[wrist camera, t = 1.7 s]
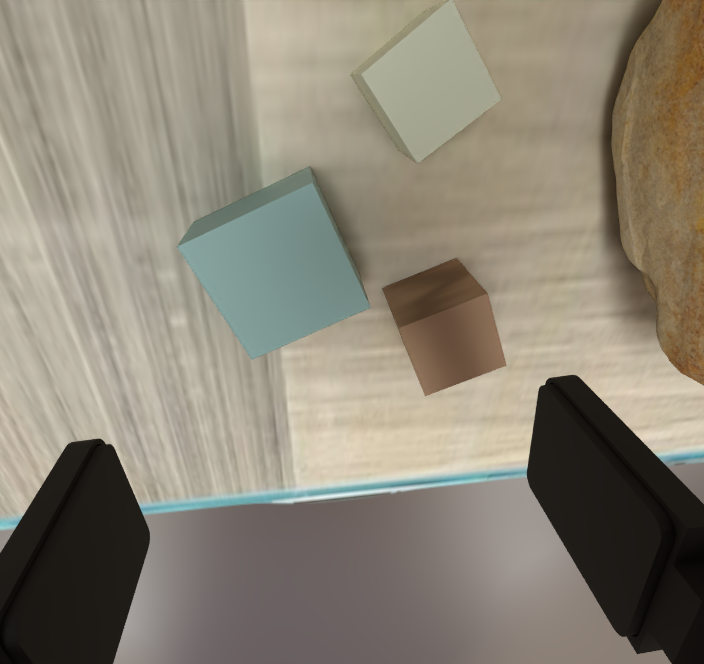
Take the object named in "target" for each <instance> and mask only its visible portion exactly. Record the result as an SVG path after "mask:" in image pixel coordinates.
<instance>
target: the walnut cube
mask: <svg viewBox="0 0 704 664" xmlns="http://www.w3.org/2000/svg"><path fill="white" fill-rule="evenodd" d="M382 289H383V291H384V294H385V296H386V299H387V301H388V304H389V307H390V309H391V312H392V314H393V317H394V319H395V322H396V324H397V327H398V329H399V332H400V335H401V337H402V340H403V342H404V345H405V347H406V350H407V352H408V355H409V357H410V360H411V362H412V364H413V367H414V369H415V372H416V374H417V377H418V379H419V382H420V384H421V387H422V389H423V391H424V394H425V396H427V395H430V394H432V393H435V392H438V391H440V390H443V389H445V388H448V387H451V386H453V385H456V384H459V383H461V382H464V381H467V380H469V379H472V378H475V377H477V376H480V375H482V374H485V373H488V372H490V371H493V370H496V369H498V368H501V367H504V366H506V362H505V358H504V354H503V350H502V347H501V343H500V339H499V335H498V331H497V328H496V324H495V320H494V316H493V313H492V309H491V305H490V301H489V297H488V294H487V292H486V291H485V290H484V289H483V288H482V287H481V285H480V284H479V283H478V282H477V281H476V280H475V279H474V278H473V276H472V275H471V274H470V273H469V272H468V271H467V270H466V268H465V267H464V266H463V265H462V264H461V263H460V262H459V261H458V259H457V258H455V259H453V260H450V261H448V262H445V263H443V264H440V265H438V266H436V267H433V268H431V269H428V270H426V271H423V272H421V273H418V274H416V275H413V276H411V277H408V278H406V279H403V280H401V281H398V282H396V283H393V284H391V285H389V286H386V287H384V288H382Z"/></svg>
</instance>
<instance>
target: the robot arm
mask: <svg viewBox="0 0 704 664" xmlns="http://www.w3.org/2000/svg"><path fill="white" fill-rule="evenodd" d="M527 479H528V483H529V486H530V488H531V490H532V492H533V493H534V495H535V497H536V498H537V500H538V502H539V503H540V505H541V507H542V508H543V510H544V512H545V513H546V515H547V517H548V519H549V520H550V522H551V524H552V525H553V527H554V529H555V530H556V532H557V534H558V535H559V537H560V539H561V541H562V542H563V544H564V546H565V547H566V549H567V551H568V552H569V554H570V556H571V557H572V559H573V561H574V562H575V564H576V566H577V568H578V569H579V571H580V573H581V574H582V576H583V578H584V579H585V581H586V583H587V584H588V586H589V588H590V589H591V591H592V593H593V594H594V596H595V598H596V600H597V601H598V603H599V605H600V606H601V608H602V610H603V611H604V613H605V615H606V616H607V618H608V620H609V622H610V623H611V625H612V627H613V628H614V630H615V631H616V632H617V633H618V634H619V635H620V636H622V637H625V636H627V638H628V640H629V641H630V643H631V645H632V646H633V648H634V650H635V651H636V653H637V654H640V653H646V652H652V651H657V650H663V651H664V653H665V654H666V656H667V657H668V659H669V660H670V662H671V663H672V664H704V504H703V503H702V502H701V501H700V500H699V499H698V498H697V497H696V496H695V495H694V494H693V493H692V492H691V491H690V490H689V489H688V488H687V487H686V486H685V485H684V484H683V483H682V482H681V481H680V480H679V479H678V478H677V477H676V476H675V474H673V473H672V471H671V470H670V469H669V468H668V467H667V466H666V465H665V464H664V463H663V462H662V461H661V460H660V459H659V458H658V457H657V456H656V455H655V454H654V453H653V452H652V451H651V450H650V449H649V448H648V447H647V446H646V445H645V444H644V443H643V442H642V441H641V440H640V439H639V438H638V437H637V436H636V435H635V434H634V433H633V432H632V431H631V430H630V429H629V428H628V427H627V426H626V424H625V423H624V422H623V421H622V420H621V419H620V418H619V417H618V416H617V415H616V414H615V413H614V412H613V411H612V410H611V409H610V408H609V407H608V406H607V405H606V404H605V403H604V402H603V401H602V400H601V399H600V398H599V397H598V396H597V395H596V394H595V393H594V392H593V391H592V390H591V389H590V388H589V387H588V386H587V385H586V384H585V383H584V382H583V381H582V380H581V379H580V378H579V377H578V376H577V375H568V376H560V377H553V378H549V379H548V380H547V381H546V384H545V385H543V386H541V387H540V388H539V392H538V399H537V406H536V413H535V420H534V427H533V434H532V441H531V447H530V454H529V461H528V468H527ZM149 542H150V533H149V528H148V526H147V524H146V521H145V519H144V516H143V514H142V512H141V509H140V507H139V505H138V502H137V500H136V498H135V495H134V493H133V491H132V488H131V486H130V484H129V481H128V479H127V477H126V474H125V472H124V470H123V467H122V465H121V463H120V460H119V458H118V456H117V453H116V451H115V449H114V447H113V446H112V445H111V444H107V445H106V444H105V442H104V441H103V440H102V439H92V440H85V441H77V442H71V443H69V444H68V445H67V446H66V447H65V449H64V451H63V452H62V454H61V456H60V457H59V459H58V460H57V462H56V464H55V465H54V467H53V469H52V470H51V472H50V473H49V475H48V477H47V478H46V480H45V482H44V483H43V485H42V486H41V488H40V490H39V491H38V493H37V494H36V496H35V498H34V499H33V501H32V503H31V504H30V506H29V507H28V509H27V511H26V512H25V514H24V516H23V517H22V519H21V520H20V522H19V524H18V525H17V527H16V529H15V530H14V532H13V533H12V535H11V537H10V539H9V540H8V542H7V543H6V545H5V546H4V548H3V550H2V551H1V553H0V664H113V662H114V659H115V655H116V652H117V648H118V646H119V642H120V639H121V635H122V632H123V629H124V626H125V623H126V619H127V616H128V613H129V609H130V606H131V603H132V600H133V596H134V593H135V590H136V587H137V583H138V580H139V577H140V573H141V570H142V567H143V564H144V560H145V557H146V554H147V551H148V547H149Z"/></svg>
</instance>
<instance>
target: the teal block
mask: <svg viewBox="0 0 704 664" xmlns="http://www.w3.org/2000/svg"><path fill="white" fill-rule="evenodd" d="M177 248H178V249H179V251H180V252H181V254H182V255H183V257H184V258H185V260H186V261H187V263H188V264H189V266H190V267H191V269H192V270H193V272H194V273H195V275H196V276H197V278H198V279H199V281H200V282H201V284H202V285H203V287H204V288H205V290H206V291H207V293H208V294H209V296H210V298H211V299H212V301H213V302H214V304H215V305H216V307H217V308H218V310H219V311H220V313H221V314H222V316H223V317H224V319H225V320H226V322H227V323H228V325H229V326H230V328H231V329H232V331H233V332H234V334H235V335H236V337H237V338H238V340H239V341H240V343H241V344H242V346H243V347H244V349H245V350H246V352H247V353H248V355H249V356H250V358H251V359H255V358H257V357H259V356H261V355H264V354H266V353H268V352H270V351H273V350H275V349H277V348H280V347H282V346H284V345H286V344H289V343H291V342H293V341H296V340H298V339H300V338H302V337H305V336H307V335H309V334H312V333H314V332H316V331H318V330H321V329H323V328H325V327H327V326H330V325H332V324H334V323H337V322H339V321H341V320H343V319H346V318H348V317H350V316H353V315H355V314H357V313H359V312H362V311H364V310H366V309H369V308H371V307H370V304H369V301H368V298H367V295H366V292H365V289H364V286H363V283H362V280H361V277H360V275H359V273H358V271H357V269H356V266H355V264H354V262H353V260H352V258H351V256H350V253H349V251H348V249H347V247H346V245H345V242H344V240H343V238H342V236H341V234H340V232H339V229H338V227H337V225H336V223H335V221H334V219H333V216H332V214H331V212H330V210H329V208H328V206H327V203H326V201H325V199H324V197H323V195H322V192H321V190H320V188H319V186H318V184H317V182H316V179H315V177H314V175H313V173H312V171H311V169H310V166H309V167H307V168H305V169H303V170H301V171H299V172H297V173H295V174H293V175H291V176H289V177H286V178H284V179H282V180H280V181H278V182H276V183H274V184H272V185H270V186H268V187H266V188H264V189H261V190H259V191H257V192H255V193H253V194H251V195H249V196H247V197H245V198H243V199H241V200H239V201H236V202H234V203H232V204H230V205H228V206H226V207H224V208H222V209H220V210H218V211H216V212H214V213H211V214H209V215H207V216H205V217H203V218H201V219H199V220H197V221H195V222H193V224H192V225H191V227H190V228H189V230H188V231H187V233H186V234H185V236H184V237H183V239H182V240H181V242H180V243H179V245H178V246H177Z"/></svg>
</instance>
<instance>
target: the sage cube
mask: <svg viewBox="0 0 704 664" xmlns="http://www.w3.org/2000/svg"><path fill="white" fill-rule="evenodd" d="M350 75H351V77H352V78H353V80H354V81H355V83H356V84H357V86H358V87H359V89H360V91H361V92H362V94H363V95H364V97H365V98H366V100H367V102H368V103H369V105H370V106H371V108H372V109H373V111H374V112H375V114H376V116H377V117H378V119H379V120H380V122H381V123H382V125H383V126H384V128H385V130H386V131H387V133H388V134H389V136H390V137H391V139H392V140H393V142H394V144H395V145H396V147H397V148H398V150H399V151H401V152H402V153H403V154H405V155H406V156H408V157H409V158H410V159H412V160H413V161H414V162H416V163H417V164H418V163H419V162H421V161H422V160H423V159H424V158H426V157H427V156H428V155H430V154H431V153H432V152H434V151H435V150H436V149H437V148H439V147H440V146H441V145H443V144H444V143H445V142H447V141H448V140H449V139H450V138H452V137H453V136H454V135H456V134H457V133H458V132H460V131H461V130H462V129H463V128H465V127H466V126H467V125H469V124H470V123H471V122H473V121H474V120H475V119H477V118H478V117H479V116H480V115H482V114H483V113H484V112H486V111H487V110H488V109H490V108H491V107H492V106H493V105H495V104H496V103H497V102H499V101H500V100H501V99H502V98H501V96H500V94H499V92H498V90H497V88H496V86H495V84H494V82H493V80H492V78H491V76H490V74H489V72H488V70H487V68H486V66H485V64H484V62H483V60H482V58H481V56H480V54H479V52H478V50H477V48H476V46H475V44H474V42H473V40H472V38H471V36H470V34H469V32H468V30H467V28H466V26H465V24H464V22H463V20H462V18H461V16H460V14H459V12H458V10H457V8H456V5H455V3H454V1H453V0H447V1H445V2H443V3H441V4H438V5H436V6H434V7H432V8H430V9H428V10H426V11H424V12H423V13H422V14H421V15H419V16H418V17H417V18H416V19H415V20H414V21H412V22H411V23H410V24H409V25H408V26H407V27H405V28H404V29H403V30H402V31H401V32H399V33H398V34H397V35H396V36H395V37H394V38H392V39H391V40H390V41H389V42H388V43H386V44H385V45H384V46H383V47H382V48H381V49H379V50H378V51H377V52H376V53H375V54H374V55H372V56H371V57H370V58H369V59H368V60H366V61H365V62H364V63H363V64H362V65H361V66H359V67H358V68H357V69H356V70H355V71H353V72H352V73H351V74H350Z"/></svg>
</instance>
